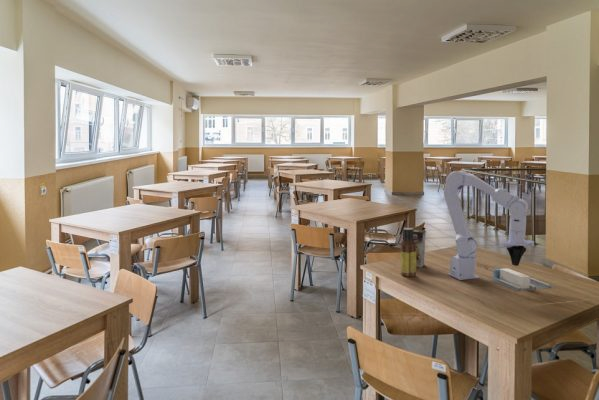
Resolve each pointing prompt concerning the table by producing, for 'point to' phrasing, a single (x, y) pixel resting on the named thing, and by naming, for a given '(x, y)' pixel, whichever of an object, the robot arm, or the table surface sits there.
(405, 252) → the sauce bottle
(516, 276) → the cream rectangular block
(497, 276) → the board
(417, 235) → the coffee box
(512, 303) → the table surface
